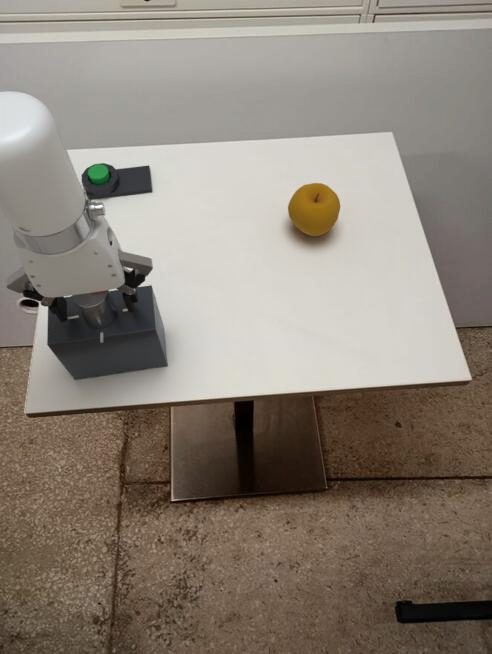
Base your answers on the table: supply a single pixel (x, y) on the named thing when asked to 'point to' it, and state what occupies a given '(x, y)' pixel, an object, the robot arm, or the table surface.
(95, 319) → the program dial
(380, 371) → the table surface
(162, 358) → the dial panel
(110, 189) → the button block
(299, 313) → the table surface
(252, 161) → the table surface
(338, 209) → the apple
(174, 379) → the table surface
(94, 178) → the button
